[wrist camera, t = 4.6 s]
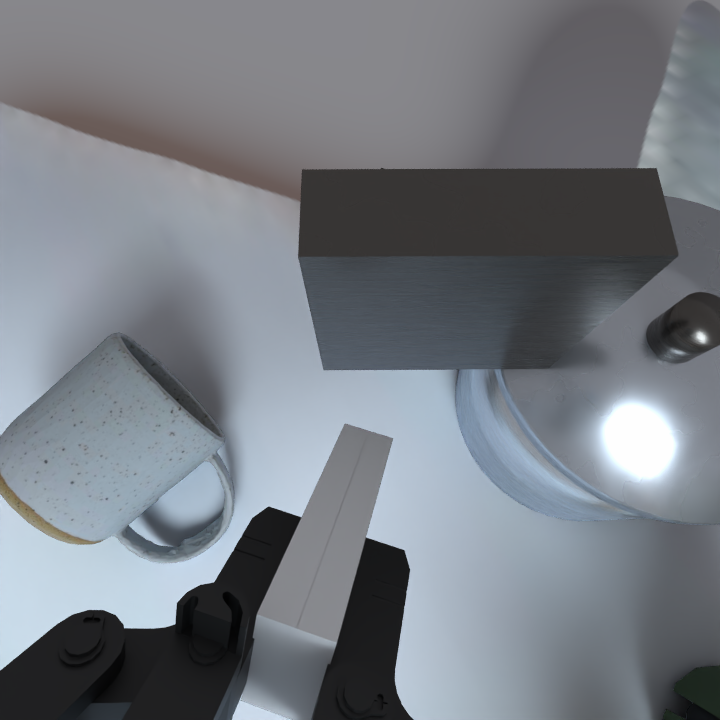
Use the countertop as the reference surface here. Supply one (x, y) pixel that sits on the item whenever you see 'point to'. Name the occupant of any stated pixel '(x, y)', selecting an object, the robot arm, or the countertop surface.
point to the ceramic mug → (111, 452)
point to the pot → (519, 455)
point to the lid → (538, 311)
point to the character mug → (699, 694)
